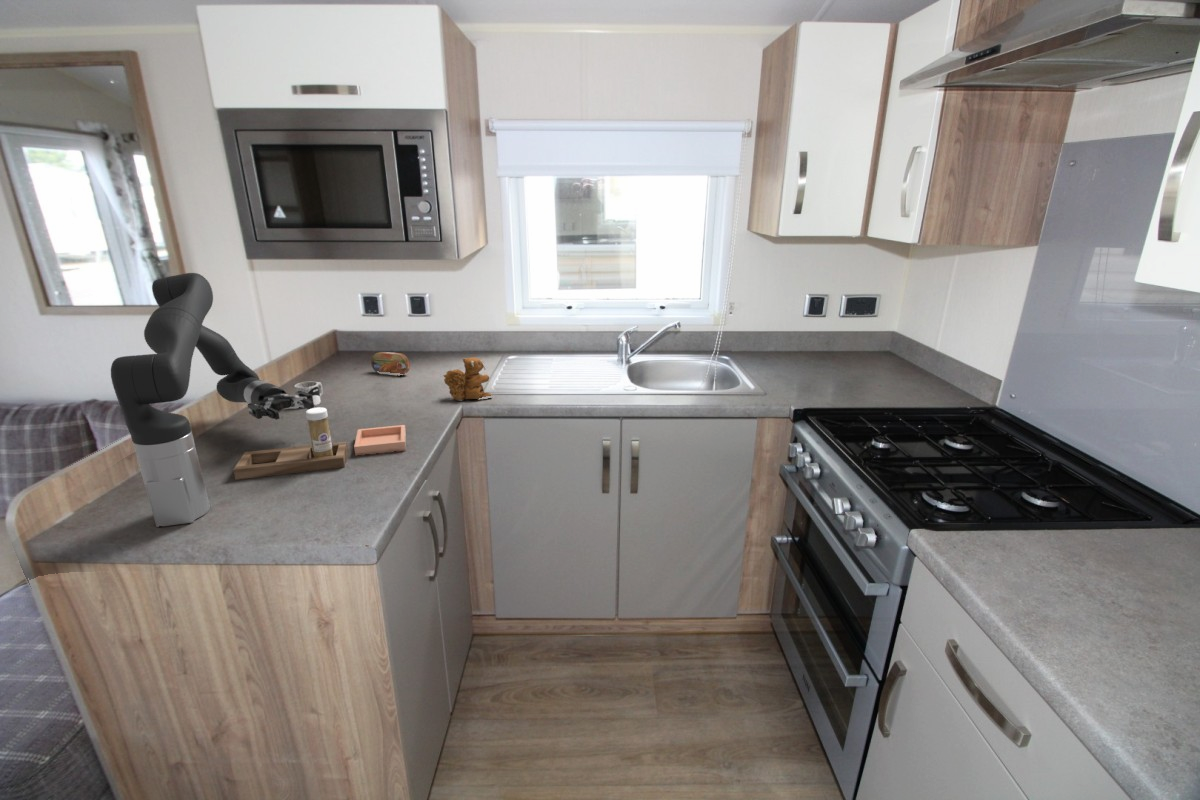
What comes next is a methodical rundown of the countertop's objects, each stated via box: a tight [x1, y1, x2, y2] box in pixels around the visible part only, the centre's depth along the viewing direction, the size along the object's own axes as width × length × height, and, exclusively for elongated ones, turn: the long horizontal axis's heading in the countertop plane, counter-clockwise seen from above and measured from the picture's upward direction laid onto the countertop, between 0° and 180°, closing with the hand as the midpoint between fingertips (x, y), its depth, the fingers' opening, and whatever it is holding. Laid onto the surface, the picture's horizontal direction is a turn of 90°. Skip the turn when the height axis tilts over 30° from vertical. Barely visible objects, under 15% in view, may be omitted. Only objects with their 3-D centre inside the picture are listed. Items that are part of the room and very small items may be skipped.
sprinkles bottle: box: [305, 406, 334, 458], centre depth 137 cm, size 5×5×13 cm
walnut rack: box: [233, 441, 349, 480], centre depth 137 cm, size 10×23×2 cm, turn 108°
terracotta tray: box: [353, 424, 407, 457], centre depth 149 cm, size 12×12×2 cm
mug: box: [293, 380, 324, 409], centre depth 178 cm, size 10×7×7 cm, turn 168°
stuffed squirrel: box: [442, 356, 493, 401], centre depth 184 cm, size 10×14×13 cm
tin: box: [370, 351, 411, 375], centre depth 208 cm, size 15×3×8 cm, turn 73°
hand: (295, 410), depth 143 cm, fingers open, 8 cm apart
